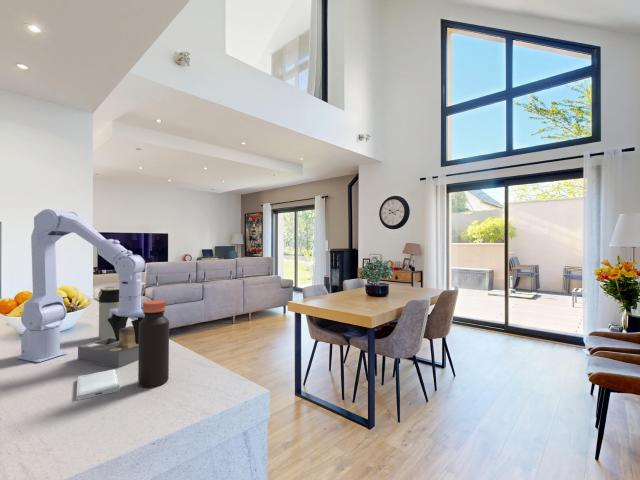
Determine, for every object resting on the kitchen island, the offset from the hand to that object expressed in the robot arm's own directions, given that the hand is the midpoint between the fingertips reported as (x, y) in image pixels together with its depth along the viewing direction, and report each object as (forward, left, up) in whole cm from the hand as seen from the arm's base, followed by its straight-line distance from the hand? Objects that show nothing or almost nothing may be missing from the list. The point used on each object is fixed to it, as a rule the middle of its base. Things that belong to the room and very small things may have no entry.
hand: (129, 341), depth 97 cm
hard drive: (+8, -16, -6) cm, 19 cm away
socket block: (-4, 0, -5) cm, 7 cm away
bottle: (+20, -10, -5) cm, 23 cm away
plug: (0, 0, -4) cm, 4 cm away
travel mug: (-23, +13, -5) cm, 27 cm away
